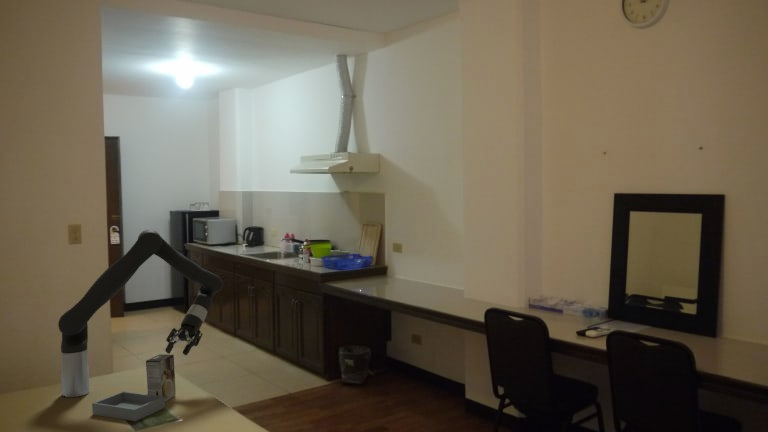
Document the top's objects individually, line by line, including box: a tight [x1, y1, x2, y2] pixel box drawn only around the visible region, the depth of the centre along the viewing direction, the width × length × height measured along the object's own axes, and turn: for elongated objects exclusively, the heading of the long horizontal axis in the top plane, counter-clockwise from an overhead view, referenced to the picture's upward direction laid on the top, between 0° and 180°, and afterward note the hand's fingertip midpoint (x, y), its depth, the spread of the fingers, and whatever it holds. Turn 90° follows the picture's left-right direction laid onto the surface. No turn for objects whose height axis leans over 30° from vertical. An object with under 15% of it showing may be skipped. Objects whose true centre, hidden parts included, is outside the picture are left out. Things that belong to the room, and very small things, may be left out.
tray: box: [91, 390, 166, 422], centre depth 218 cm, size 20×14×4 cm
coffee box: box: [145, 353, 177, 403], centre depth 230 cm, size 9×6×16 cm
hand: (175, 353), depth 238 cm, fingers open, 8 cm apart
